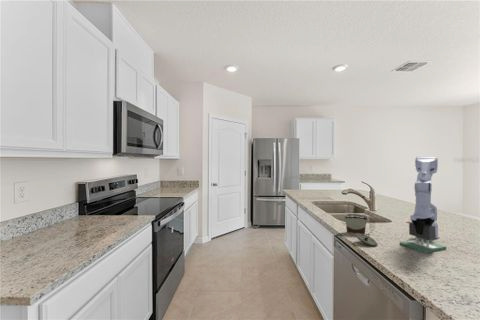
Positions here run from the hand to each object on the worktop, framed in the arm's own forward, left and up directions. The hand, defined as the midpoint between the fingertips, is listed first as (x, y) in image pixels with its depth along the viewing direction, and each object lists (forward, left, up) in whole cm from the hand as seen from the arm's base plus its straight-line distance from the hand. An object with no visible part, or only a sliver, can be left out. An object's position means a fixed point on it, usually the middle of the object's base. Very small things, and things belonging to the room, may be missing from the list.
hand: (422, 233), depth 120 cm
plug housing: (0, -1, -2) cm, 2 cm away
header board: (0, 0, -6) cm, 6 cm away
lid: (+22, -13, -7) cm, 26 cm away
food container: (+13, -30, -7) cm, 33 cm away
